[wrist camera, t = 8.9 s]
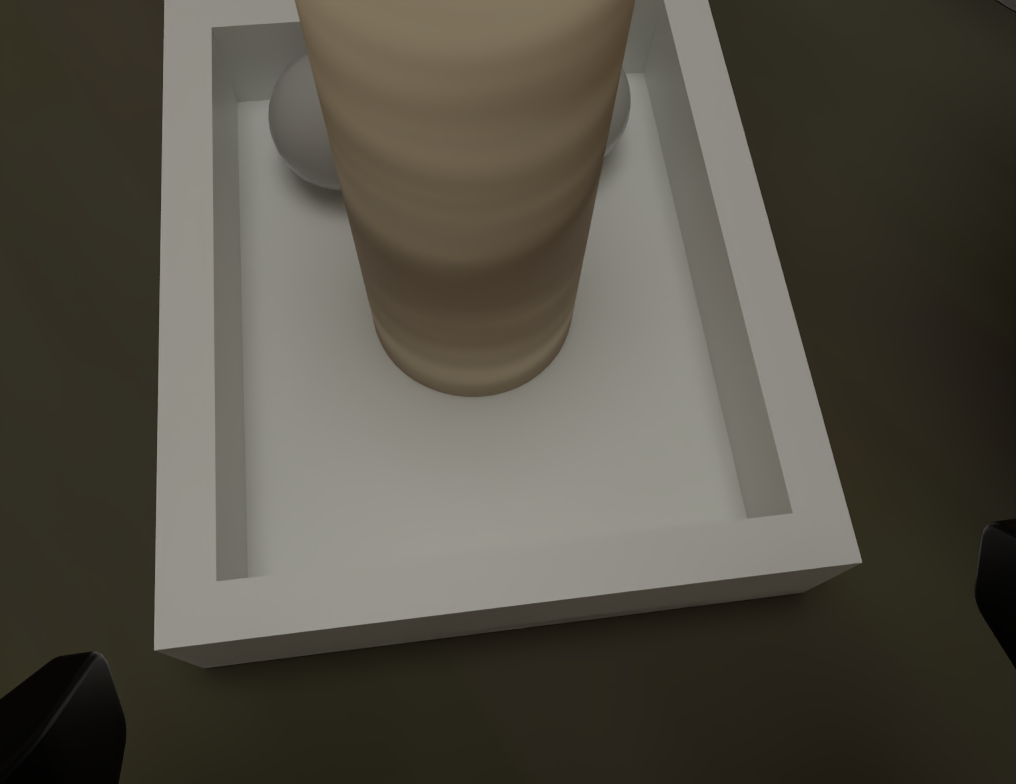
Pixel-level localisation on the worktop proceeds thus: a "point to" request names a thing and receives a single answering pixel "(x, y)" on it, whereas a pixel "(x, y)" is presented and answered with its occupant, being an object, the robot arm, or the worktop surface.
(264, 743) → the worktop surface
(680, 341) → the bin
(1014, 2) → the cup
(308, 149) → the pebble
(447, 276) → the pepper mill
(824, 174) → the worktop surface
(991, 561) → the robot arm
